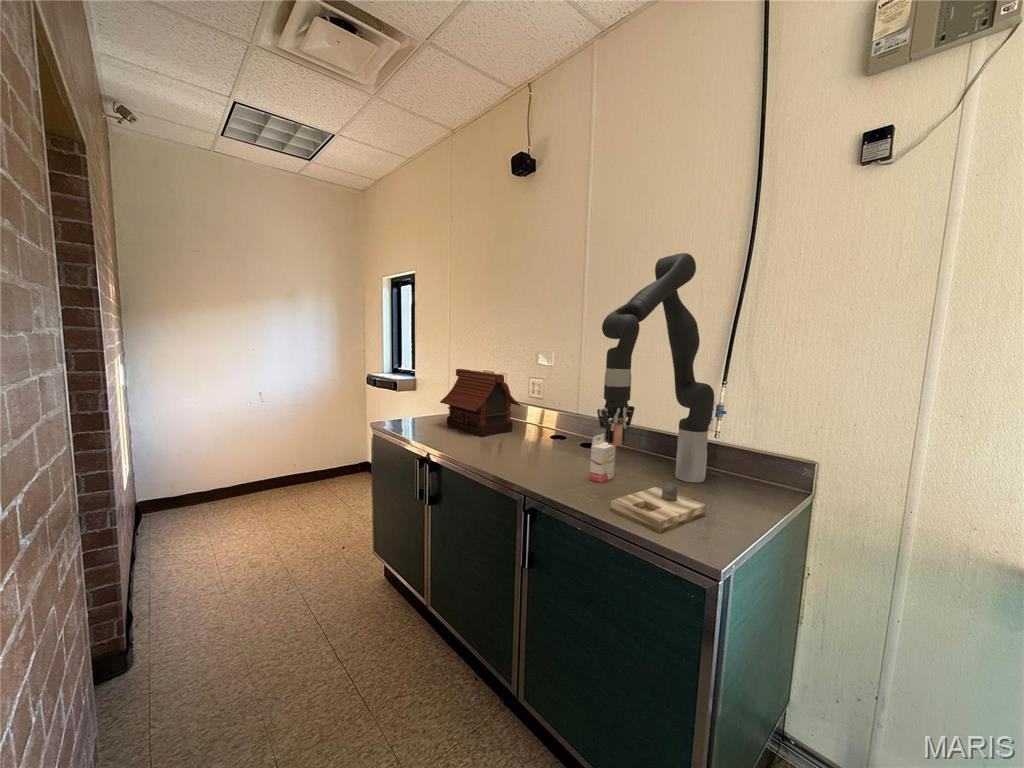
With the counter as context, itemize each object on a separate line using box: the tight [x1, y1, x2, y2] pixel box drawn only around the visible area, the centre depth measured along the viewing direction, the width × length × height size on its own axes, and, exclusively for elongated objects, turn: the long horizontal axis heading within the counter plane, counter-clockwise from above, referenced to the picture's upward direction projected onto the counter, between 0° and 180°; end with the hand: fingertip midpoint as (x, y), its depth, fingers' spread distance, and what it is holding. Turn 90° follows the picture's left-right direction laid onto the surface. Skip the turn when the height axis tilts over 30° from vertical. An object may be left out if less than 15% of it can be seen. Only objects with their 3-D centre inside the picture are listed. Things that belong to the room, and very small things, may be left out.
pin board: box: [610, 482, 707, 534], centre depth 118 cm, size 20×16×7 cm
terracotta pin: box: [607, 422, 623, 447], centre depth 127 cm, size 4×4×6 cm
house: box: [439, 368, 521, 438], centre depth 215 cm, size 35×28×29 cm
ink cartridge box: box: [589, 433, 617, 484], centre depth 145 cm, size 9×5×15 cm, turn 141°
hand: (614, 441), depth 127 cm, fingers closed on terracotta pin, 4 cm apart
